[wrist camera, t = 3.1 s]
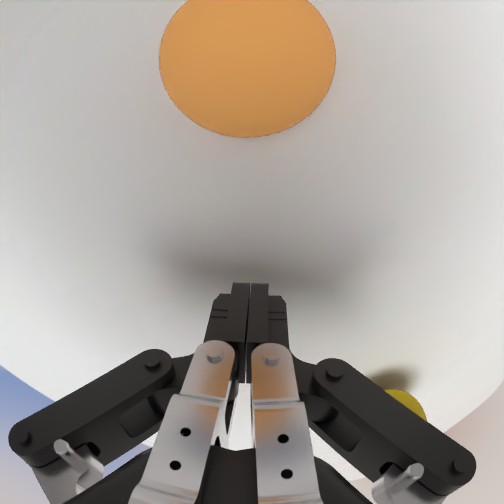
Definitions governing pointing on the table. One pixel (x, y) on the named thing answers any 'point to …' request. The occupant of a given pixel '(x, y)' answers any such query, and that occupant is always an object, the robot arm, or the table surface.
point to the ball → (247, 64)
